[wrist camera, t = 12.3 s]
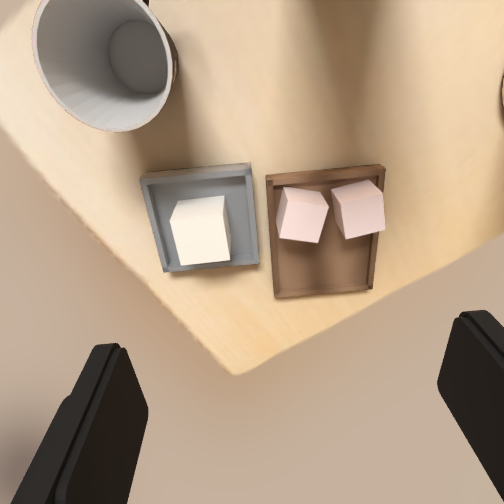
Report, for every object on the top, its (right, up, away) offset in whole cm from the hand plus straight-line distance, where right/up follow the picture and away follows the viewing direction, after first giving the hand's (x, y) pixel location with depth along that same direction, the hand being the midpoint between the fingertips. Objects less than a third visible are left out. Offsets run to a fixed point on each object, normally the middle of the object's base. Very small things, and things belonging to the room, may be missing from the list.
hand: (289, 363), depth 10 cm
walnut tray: (+7, +5, +30) cm, 31 cm away
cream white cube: (-6, +7, +28) cm, 29 cm away
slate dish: (-6, +7, +28) cm, 30 cm away
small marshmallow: (+4, +8, +27) cm, 28 cm away
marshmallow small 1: (+10, +9, +27) cm, 30 cm away
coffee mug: (-10, +21, +20) cm, 31 cm away
